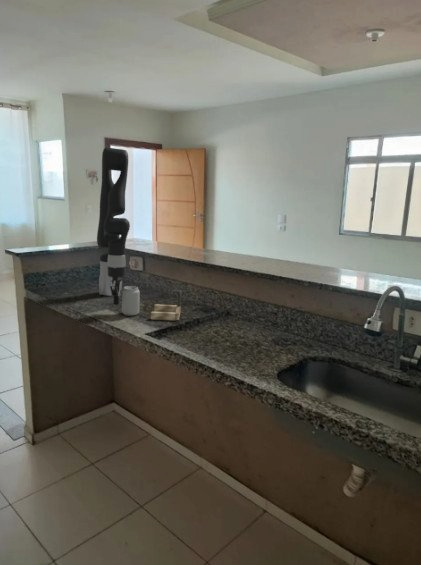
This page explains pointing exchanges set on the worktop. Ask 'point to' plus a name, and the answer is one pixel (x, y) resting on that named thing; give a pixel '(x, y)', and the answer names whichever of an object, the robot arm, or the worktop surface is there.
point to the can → (130, 300)
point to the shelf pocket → (167, 310)
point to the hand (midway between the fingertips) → (116, 304)
